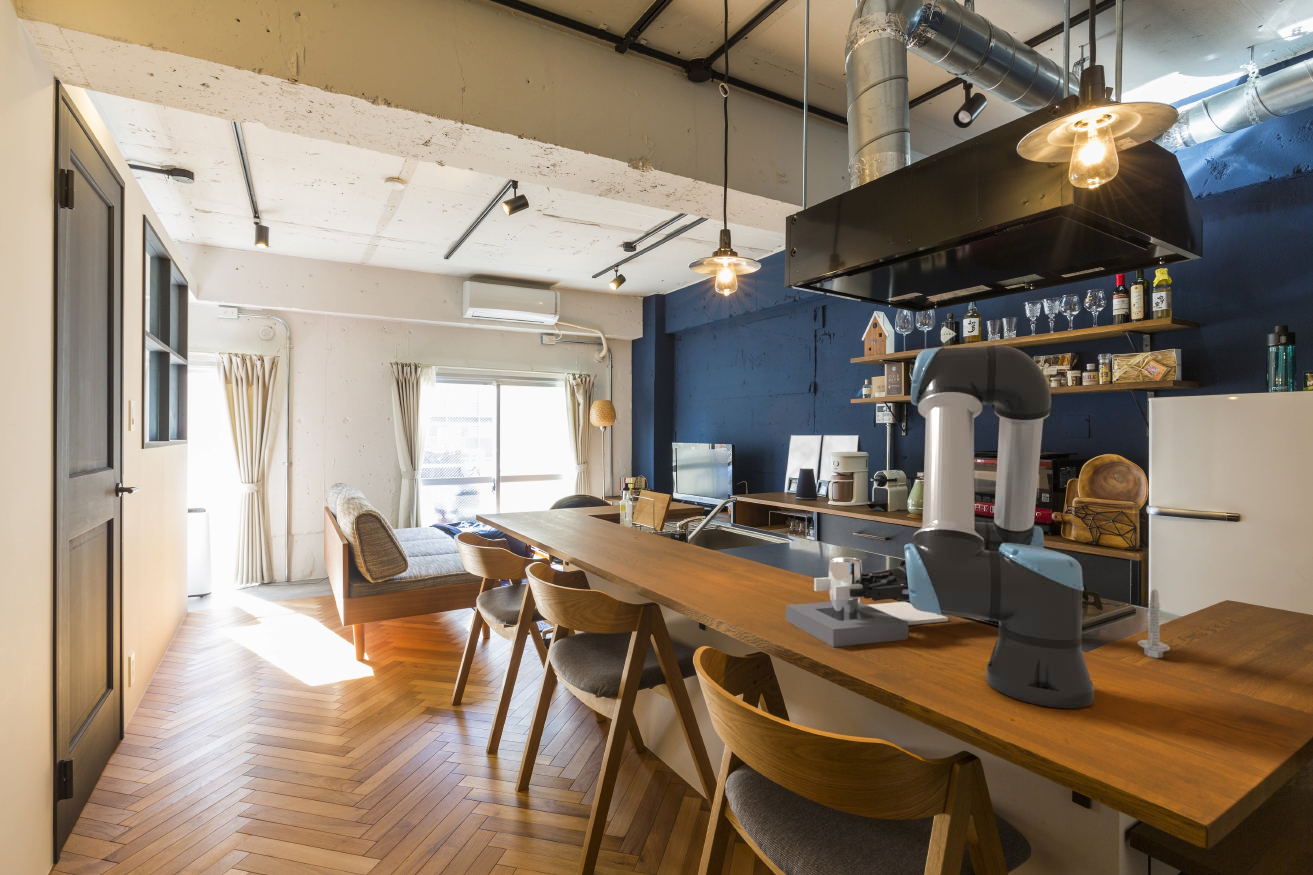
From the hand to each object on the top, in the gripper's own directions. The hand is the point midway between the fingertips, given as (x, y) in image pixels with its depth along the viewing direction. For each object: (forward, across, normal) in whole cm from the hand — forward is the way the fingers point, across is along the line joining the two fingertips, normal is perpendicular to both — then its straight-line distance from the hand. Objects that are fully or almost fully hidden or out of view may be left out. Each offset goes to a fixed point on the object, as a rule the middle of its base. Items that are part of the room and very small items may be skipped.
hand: (824, 588), depth 130 cm
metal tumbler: (-5, 0, -9) cm, 10 cm away
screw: (-54, -30, -9) cm, 62 cm away
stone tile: (-25, +6, -9) cm, 27 cm away
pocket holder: (-5, 0, -9) cm, 10 cm away
